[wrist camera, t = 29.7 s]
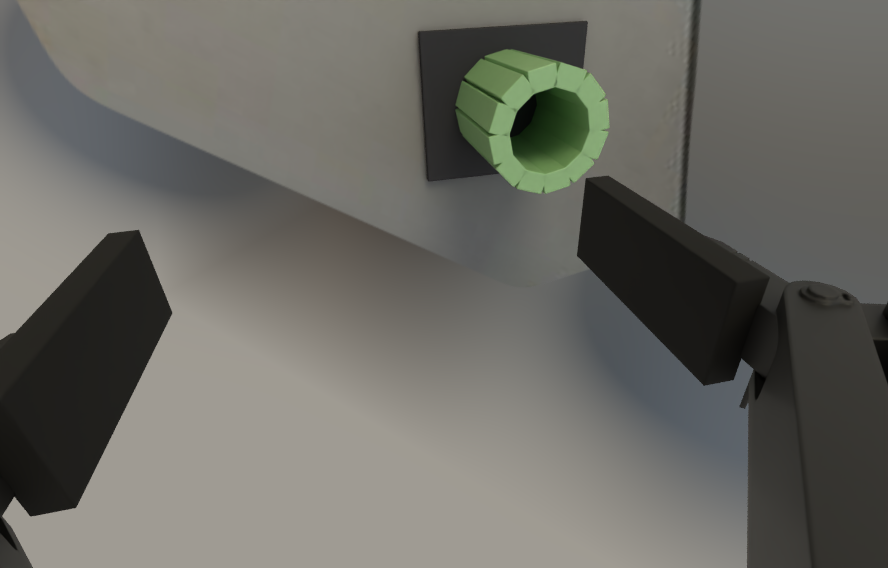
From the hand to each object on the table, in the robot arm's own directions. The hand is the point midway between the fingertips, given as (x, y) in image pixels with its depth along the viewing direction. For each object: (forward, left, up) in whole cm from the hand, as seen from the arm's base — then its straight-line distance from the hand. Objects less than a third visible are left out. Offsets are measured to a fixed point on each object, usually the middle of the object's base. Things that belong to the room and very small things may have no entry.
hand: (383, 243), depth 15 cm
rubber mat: (+13, -2, -29) cm, 32 cm away
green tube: (+13, -2, -28) cm, 31 cm away
